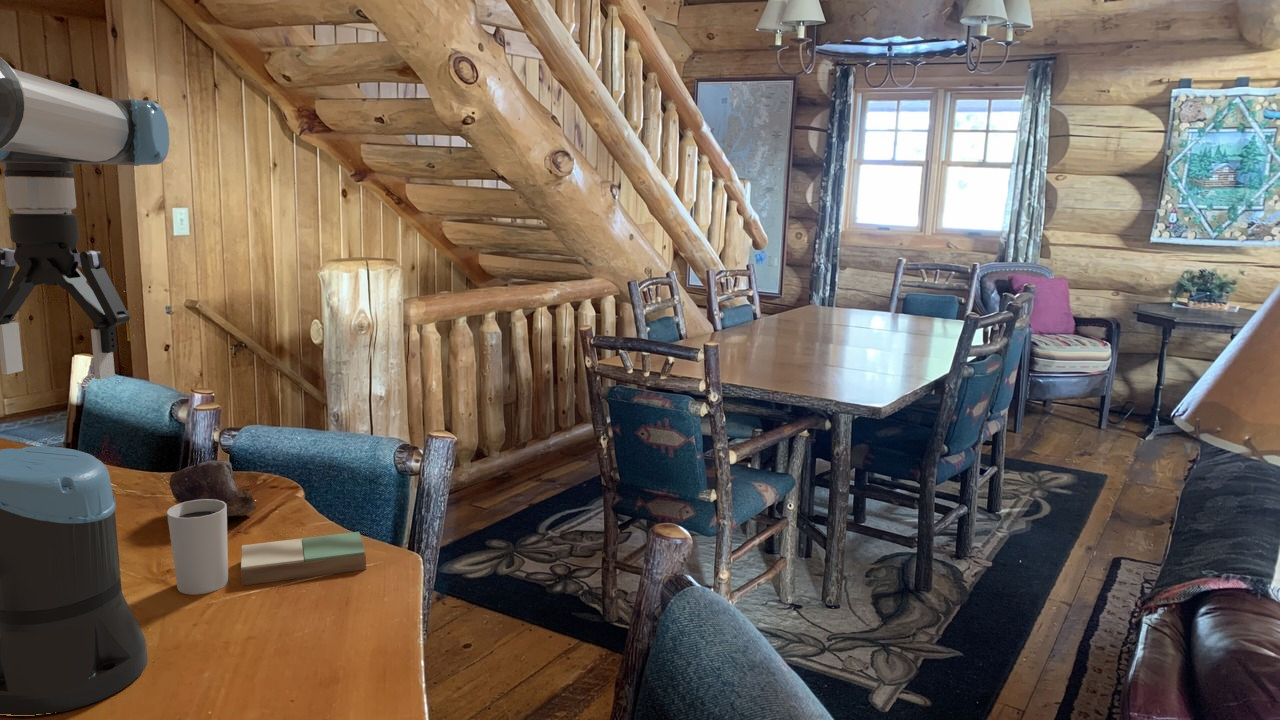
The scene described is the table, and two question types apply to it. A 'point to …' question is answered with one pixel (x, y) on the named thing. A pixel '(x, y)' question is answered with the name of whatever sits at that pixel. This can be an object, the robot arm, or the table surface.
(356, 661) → the table surface
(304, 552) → the cream and green board
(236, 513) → the rock
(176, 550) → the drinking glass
